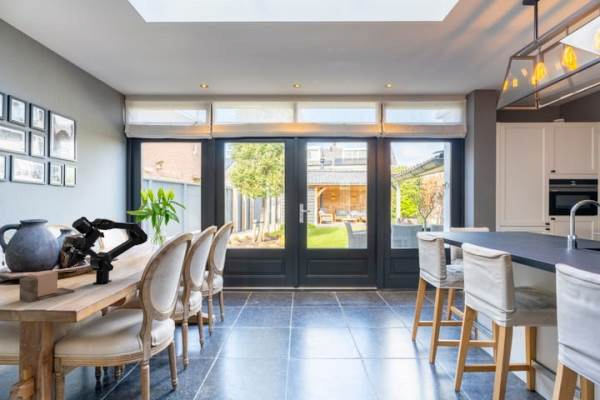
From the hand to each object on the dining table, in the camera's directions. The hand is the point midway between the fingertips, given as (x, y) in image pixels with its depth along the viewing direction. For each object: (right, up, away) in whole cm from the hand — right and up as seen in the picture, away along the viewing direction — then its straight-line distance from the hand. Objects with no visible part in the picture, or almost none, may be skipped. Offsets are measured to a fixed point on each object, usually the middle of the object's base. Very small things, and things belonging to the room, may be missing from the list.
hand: (66, 267), depth 154 cm
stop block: (-3, -11, -7) cm, 13 cm away
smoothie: (-24, -10, +38) cm, 46 cm away
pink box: (-4, -9, -9) cm, 13 cm away
